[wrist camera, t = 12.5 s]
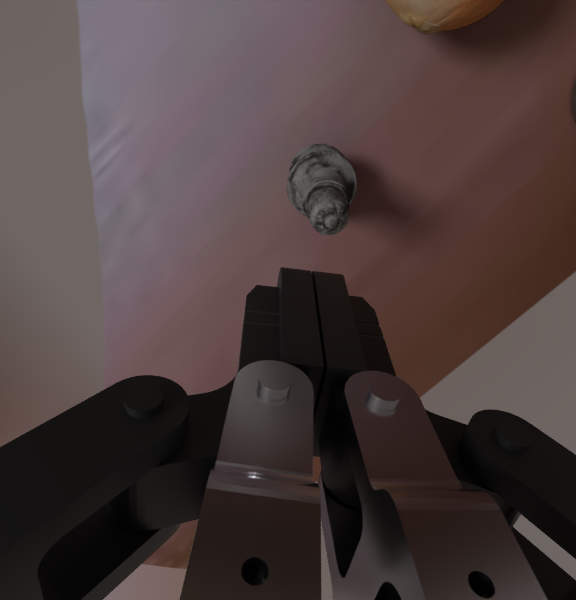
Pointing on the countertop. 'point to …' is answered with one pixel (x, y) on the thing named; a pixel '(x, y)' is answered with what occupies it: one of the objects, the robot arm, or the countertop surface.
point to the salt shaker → (322, 187)
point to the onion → (441, 13)
